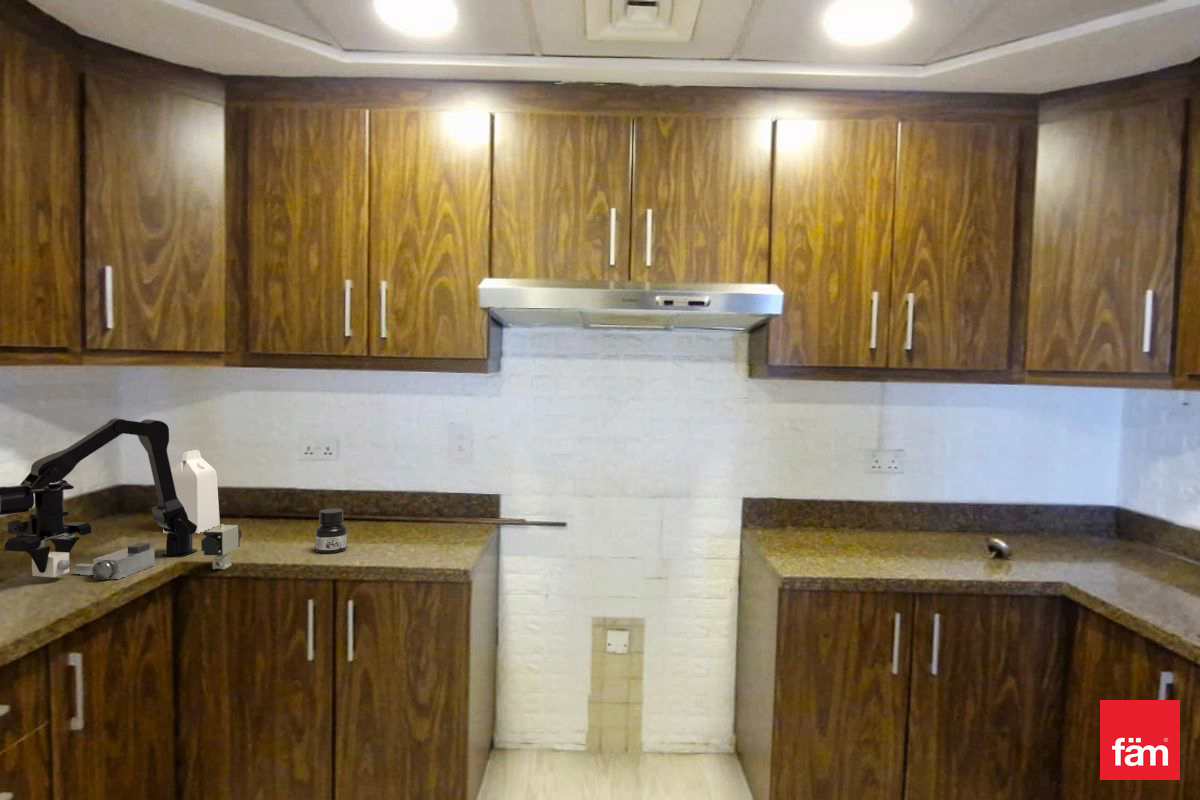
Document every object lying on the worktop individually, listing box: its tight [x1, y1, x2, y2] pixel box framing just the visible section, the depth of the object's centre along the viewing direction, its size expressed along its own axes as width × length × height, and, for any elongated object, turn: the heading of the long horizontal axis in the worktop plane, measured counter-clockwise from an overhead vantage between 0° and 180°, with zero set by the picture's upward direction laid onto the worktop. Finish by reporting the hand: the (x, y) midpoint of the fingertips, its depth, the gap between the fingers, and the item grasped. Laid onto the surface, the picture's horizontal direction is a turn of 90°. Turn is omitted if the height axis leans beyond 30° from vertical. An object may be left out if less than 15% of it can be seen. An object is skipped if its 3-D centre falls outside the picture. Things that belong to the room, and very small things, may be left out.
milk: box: [162, 449, 221, 534], centre depth 226 cm, size 12×12×26 cm
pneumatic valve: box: [200, 523, 243, 571], centre depth 185 cm, size 6×12×12 cm, turn 179°
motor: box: [74, 542, 156, 581], centre depth 179 cm, size 14×14×6 cm
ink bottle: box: [314, 507, 348, 554], centre depth 204 cm, size 10×9×12 cm
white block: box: [31, 551, 71, 578], centre depth 172 cm, size 4×7×5 cm, turn 83°
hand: (50, 569), depth 172 cm, fingers closed on white block, 4 cm apart
